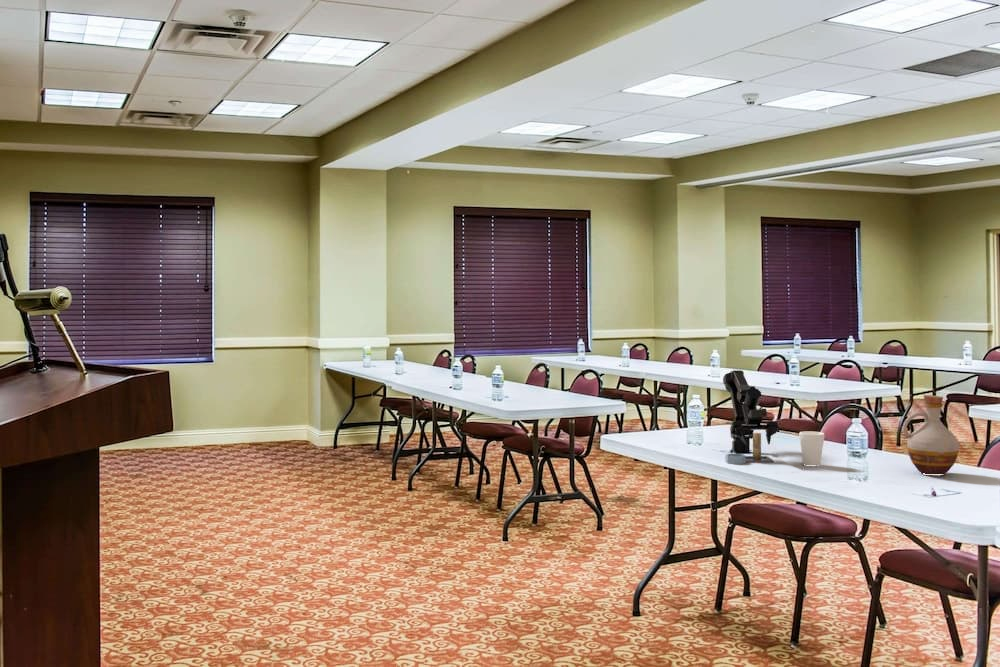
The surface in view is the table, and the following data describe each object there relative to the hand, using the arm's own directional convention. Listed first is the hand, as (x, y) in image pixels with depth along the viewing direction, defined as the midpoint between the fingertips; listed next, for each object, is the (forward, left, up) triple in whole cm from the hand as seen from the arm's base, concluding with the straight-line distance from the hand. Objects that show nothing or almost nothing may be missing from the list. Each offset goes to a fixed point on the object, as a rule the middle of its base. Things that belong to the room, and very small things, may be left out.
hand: (757, 444), depth 371 cm
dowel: (0, -1, -7) cm, 7 cm away
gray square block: (+10, +3, -8) cm, 13 cm away
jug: (-57, +28, -8) cm, 64 cm away
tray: (0, -1, -8) cm, 8 cm away
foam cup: (-20, +6, -8) cm, 22 cm away
